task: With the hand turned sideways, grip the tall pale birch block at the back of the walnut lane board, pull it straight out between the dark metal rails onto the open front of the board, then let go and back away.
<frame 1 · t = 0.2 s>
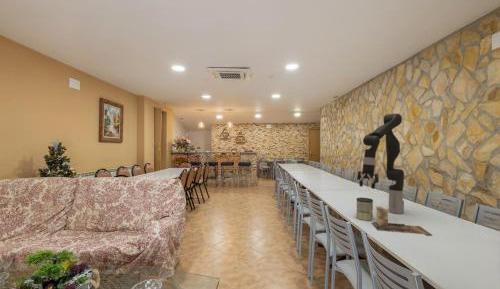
hand: (366, 187, 170), 22 cm above the table, tool pointing down, fingers open, 8 cm apart
lane board: (381, 227, 152), on the table
coffee can: (364, 219, 169), on the table
birch block: (381, 227, 152), point 1 cm above the table, touching lane board
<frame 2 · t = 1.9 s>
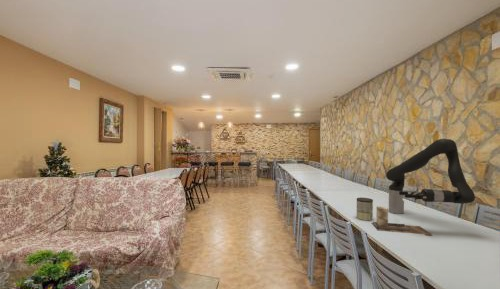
hand: (402, 194, 150), 22 cm above the table, tool horizontal, fingers open, 8 cm apart
nothing on the table moved.
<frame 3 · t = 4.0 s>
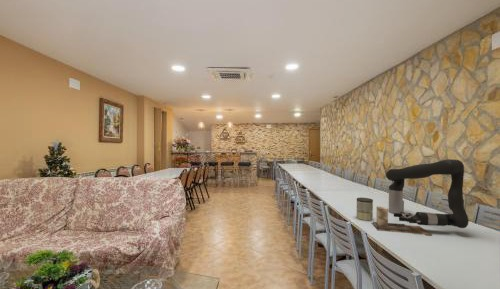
hand: (396, 216, 150), 8 cm above the table, tool horizontal, fingers open, 8 cm apart
nothing on the table moved.
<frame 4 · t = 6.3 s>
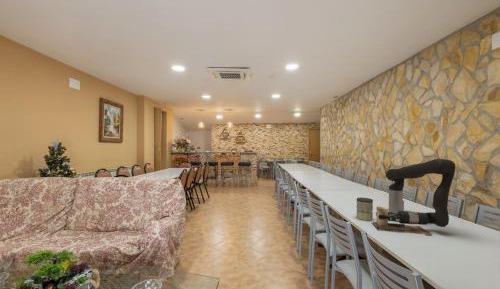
hand: (377, 215, 152), 8 cm above the table, tool horizontal, fingers closed on birch block, 5 cm apart
birch block: (381, 227, 152), point 1 cm above the table, touching gripper, lane board
everything else where it was.
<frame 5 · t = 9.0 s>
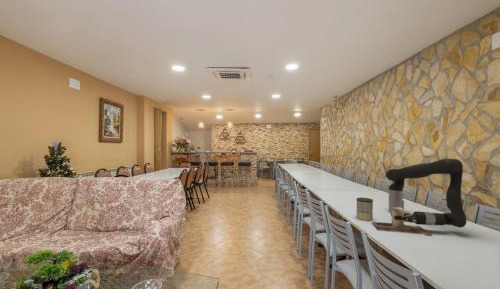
hand: (393, 216, 151), 8 cm above the table, tool horizontal, fingers closed on birch block, 5 cm apart
birch block: (397, 227, 150), point 1 cm above the table, touching gripper
everything else where it was.
when the fingers open (8 cm above the table, at t = 11.6 s): birch block stays where it is, resting on lane board.
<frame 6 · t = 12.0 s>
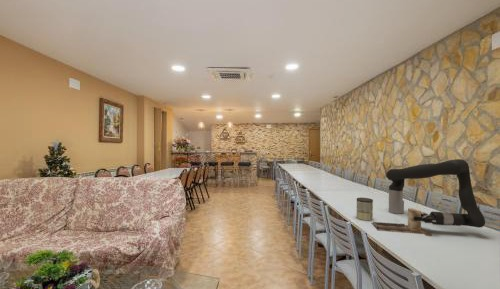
hand: (410, 216, 149), 8 cm above the table, tool horizontal, fingers open, 8 cm apart
birch block: (414, 229, 148), point 1 cm above the table, touching lane board
everything else where it was.
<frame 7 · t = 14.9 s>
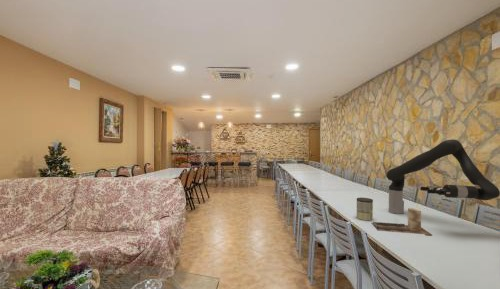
hand: (424, 189, 147), 25 cm above the table, tool horizontal, fingers open, 8 cm apart
nothing on the table moved.
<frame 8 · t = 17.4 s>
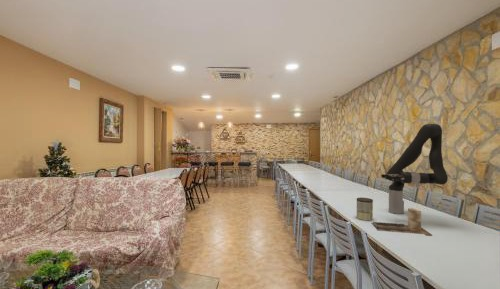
hand: (383, 176, 165), 30 cm above the table, tool horizontal, fingers open, 8 cm apart
nothing on the table moved.
at the end: birch block inside the target area (0.2 cm from its centre), point 0.6 cm above the table; birch block moved 17.9 cm from its start; birch block tilted 0° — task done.
